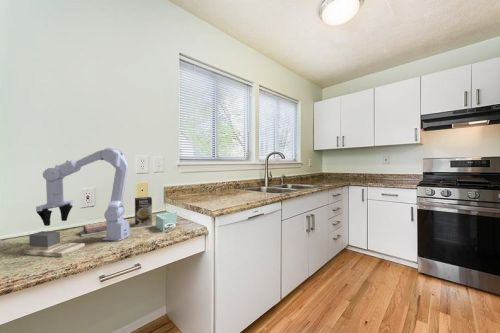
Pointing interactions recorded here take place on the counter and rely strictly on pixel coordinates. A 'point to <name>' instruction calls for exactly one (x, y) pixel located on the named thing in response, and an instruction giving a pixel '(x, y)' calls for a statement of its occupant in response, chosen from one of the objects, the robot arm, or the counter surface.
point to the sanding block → (44, 240)
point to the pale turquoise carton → (166, 221)
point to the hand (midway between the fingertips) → (56, 223)
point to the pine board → (56, 249)
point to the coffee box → (143, 211)
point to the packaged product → (93, 229)
